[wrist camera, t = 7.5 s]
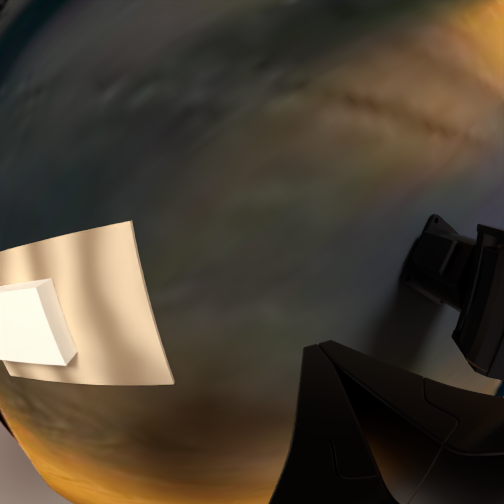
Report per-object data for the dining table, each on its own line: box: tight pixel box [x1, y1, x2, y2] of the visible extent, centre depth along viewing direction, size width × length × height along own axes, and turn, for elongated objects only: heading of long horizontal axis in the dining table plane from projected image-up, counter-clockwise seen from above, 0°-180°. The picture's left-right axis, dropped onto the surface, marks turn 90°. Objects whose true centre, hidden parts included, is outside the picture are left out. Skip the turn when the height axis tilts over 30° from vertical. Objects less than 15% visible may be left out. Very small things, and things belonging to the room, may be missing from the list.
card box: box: [0, 278, 78, 366], centre depth 18 cm, size 2×7×12 cm
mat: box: [0, 221, 175, 385], centre depth 20 cm, size 22×14×1 cm, turn 98°
